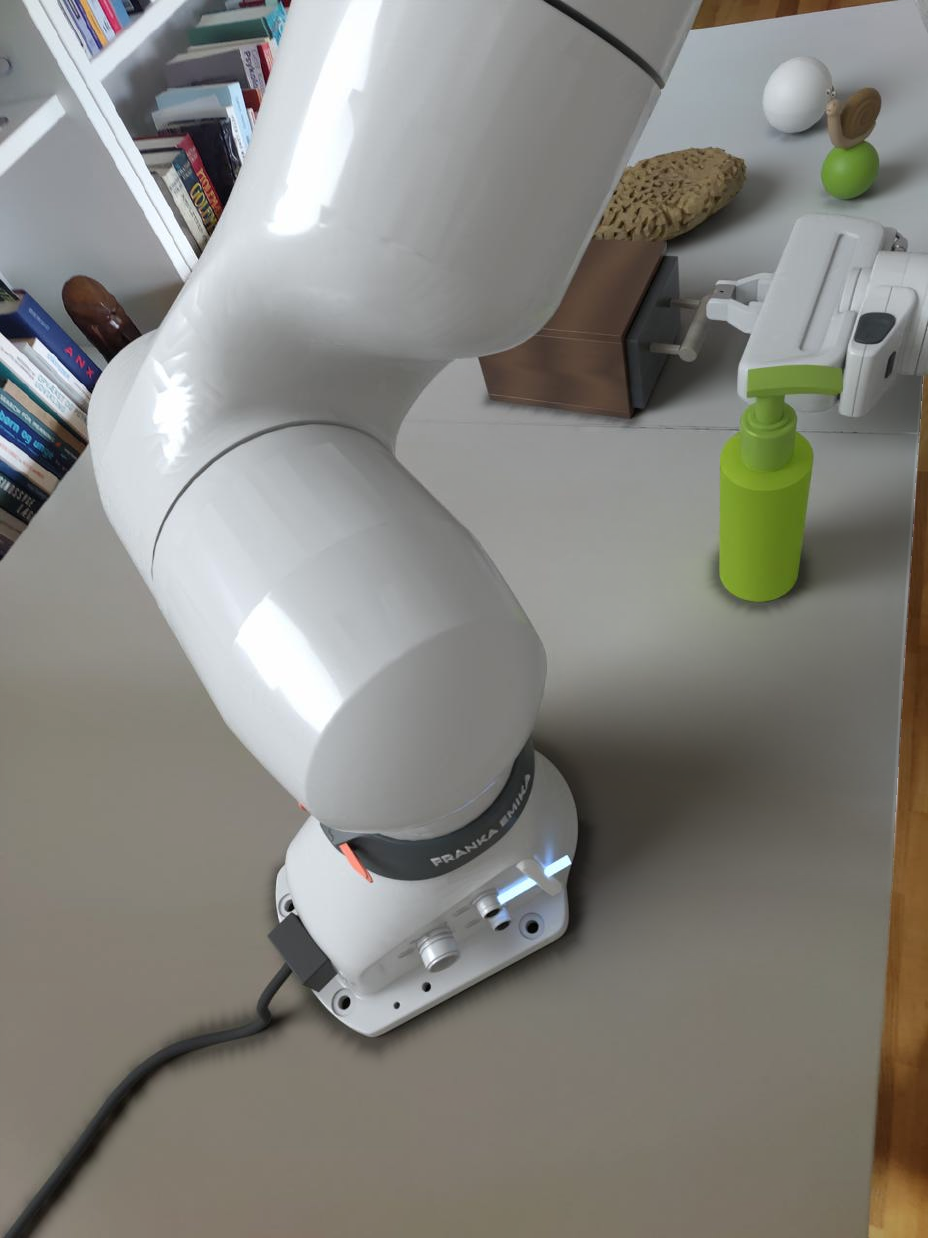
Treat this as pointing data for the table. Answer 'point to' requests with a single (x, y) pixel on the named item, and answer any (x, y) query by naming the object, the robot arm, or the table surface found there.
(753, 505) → the soap dispenser
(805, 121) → the white egg
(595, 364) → the cabinet
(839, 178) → the snail figurine
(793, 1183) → the table surface
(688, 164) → the sponge
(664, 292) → the drawer
